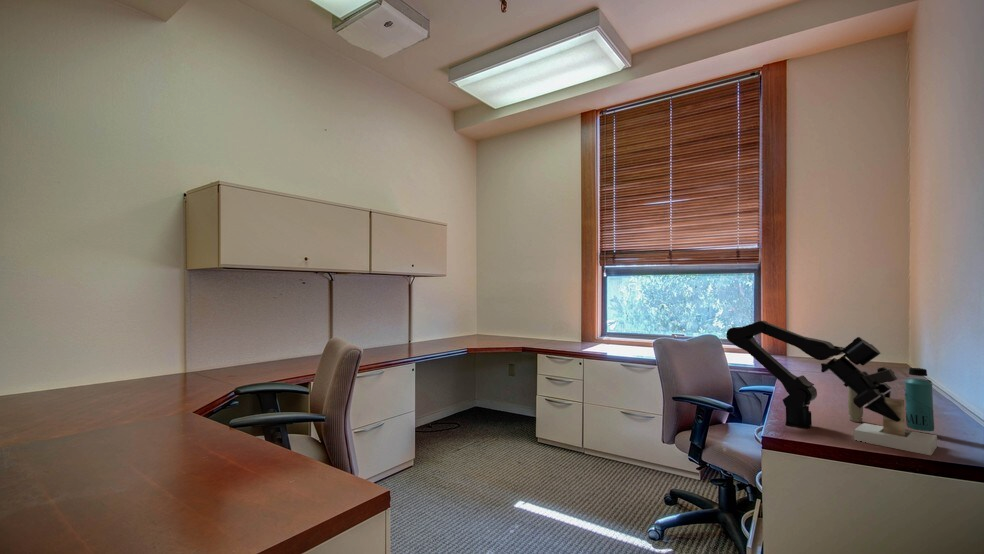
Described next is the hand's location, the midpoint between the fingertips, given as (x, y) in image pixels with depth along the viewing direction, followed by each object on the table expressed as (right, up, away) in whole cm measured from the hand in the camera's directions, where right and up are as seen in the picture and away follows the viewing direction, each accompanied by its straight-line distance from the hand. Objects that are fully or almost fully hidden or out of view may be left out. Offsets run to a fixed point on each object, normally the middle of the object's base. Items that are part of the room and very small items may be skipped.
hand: (900, 419), depth 126 cm
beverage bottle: (+16, -8, +11) cm, 21 cm away
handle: (+7, -9, +24) cm, 27 cm away
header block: (-1, -7, +1) cm, 7 cm away
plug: (-1, -7, +1) cm, 7 cm away
